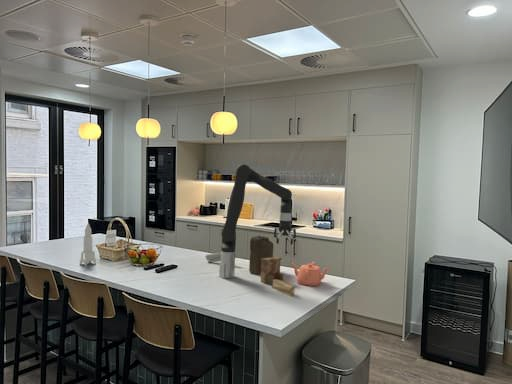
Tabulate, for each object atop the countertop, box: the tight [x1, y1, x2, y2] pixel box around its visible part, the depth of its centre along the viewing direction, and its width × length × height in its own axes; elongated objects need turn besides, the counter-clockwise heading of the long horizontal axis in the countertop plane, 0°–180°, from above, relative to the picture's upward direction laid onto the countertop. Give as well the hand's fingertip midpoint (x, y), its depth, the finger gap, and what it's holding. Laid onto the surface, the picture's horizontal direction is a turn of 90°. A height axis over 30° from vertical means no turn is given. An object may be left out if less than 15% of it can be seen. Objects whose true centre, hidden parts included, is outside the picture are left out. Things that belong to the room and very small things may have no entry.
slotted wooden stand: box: [260, 256, 285, 286], centre depth 237 cm, size 13×10×15 cm
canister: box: [248, 235, 274, 275], centre depth 262 cm, size 19×8×25 cm, turn 142°
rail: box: [271, 279, 296, 297], centre depth 221 cm, size 4×17×5 cm, turn 34°
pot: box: [291, 261, 330, 287], centre depth 239 cm, size 18×17×12 cm
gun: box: [205, 252, 237, 263], centre depth 280 cm, size 2×25×10 cm, turn 66°
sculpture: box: [79, 222, 97, 267], centre depth 266 cm, size 7×8×30 cm
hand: (284, 244), depth 244 cm, fingers open, 8 cm apart
